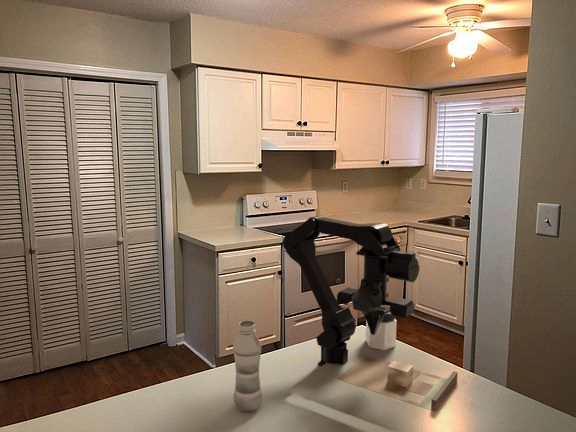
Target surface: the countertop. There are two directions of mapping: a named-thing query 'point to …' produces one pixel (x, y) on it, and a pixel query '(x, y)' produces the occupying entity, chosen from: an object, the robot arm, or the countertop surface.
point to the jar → (383, 333)
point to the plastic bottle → (247, 368)
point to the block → (400, 373)
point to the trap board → (375, 378)
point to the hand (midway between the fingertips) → (373, 334)
